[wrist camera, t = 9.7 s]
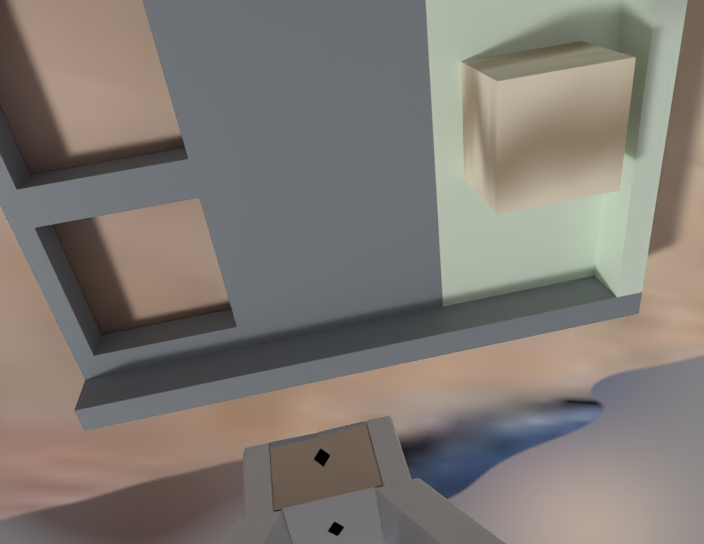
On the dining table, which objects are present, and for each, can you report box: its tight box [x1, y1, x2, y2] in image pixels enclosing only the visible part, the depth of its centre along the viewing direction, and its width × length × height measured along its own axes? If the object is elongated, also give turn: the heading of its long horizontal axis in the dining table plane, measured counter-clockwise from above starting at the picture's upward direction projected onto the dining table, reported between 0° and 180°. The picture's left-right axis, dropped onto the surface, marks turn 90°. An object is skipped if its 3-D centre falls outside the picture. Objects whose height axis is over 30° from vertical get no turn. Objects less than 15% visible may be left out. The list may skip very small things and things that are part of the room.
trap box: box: [0, 0, 688, 431], centre depth 28 cm, size 24×32×4 cm
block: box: [461, 41, 636, 214], centre depth 27 cm, size 6×6×4 cm
